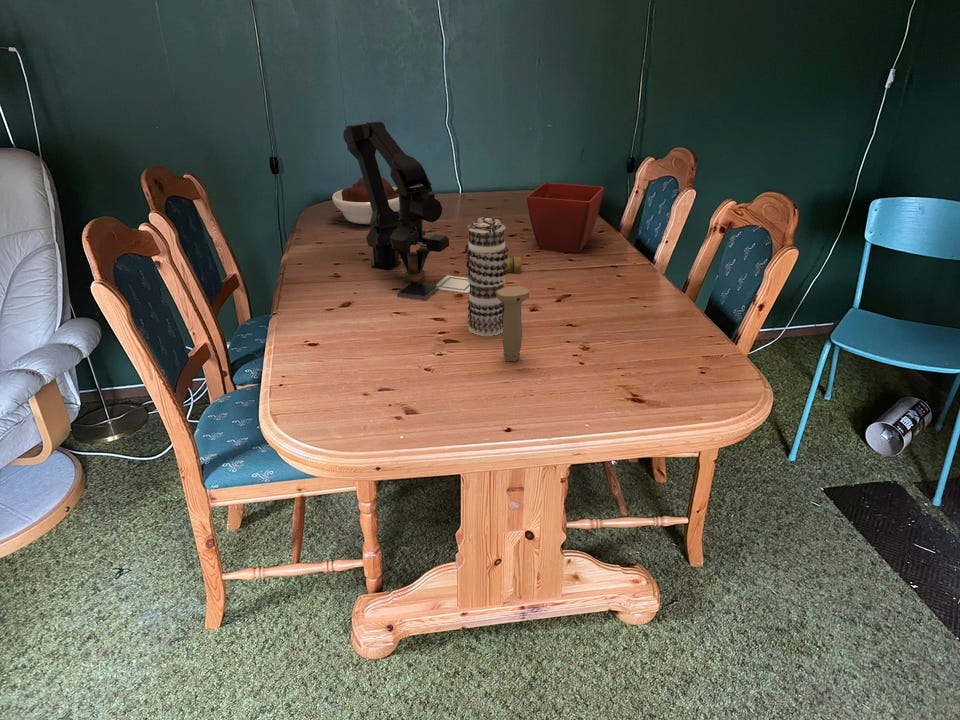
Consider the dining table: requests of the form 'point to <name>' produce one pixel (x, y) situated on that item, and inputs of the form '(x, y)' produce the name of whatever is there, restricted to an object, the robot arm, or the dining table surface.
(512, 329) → the handle
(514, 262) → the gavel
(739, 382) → the dining table surface
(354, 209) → the bowl of chocolate pudding
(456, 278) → the print card
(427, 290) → the ink pad
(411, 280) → the stamp
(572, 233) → the plant pot
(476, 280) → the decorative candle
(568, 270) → the dining table surface
